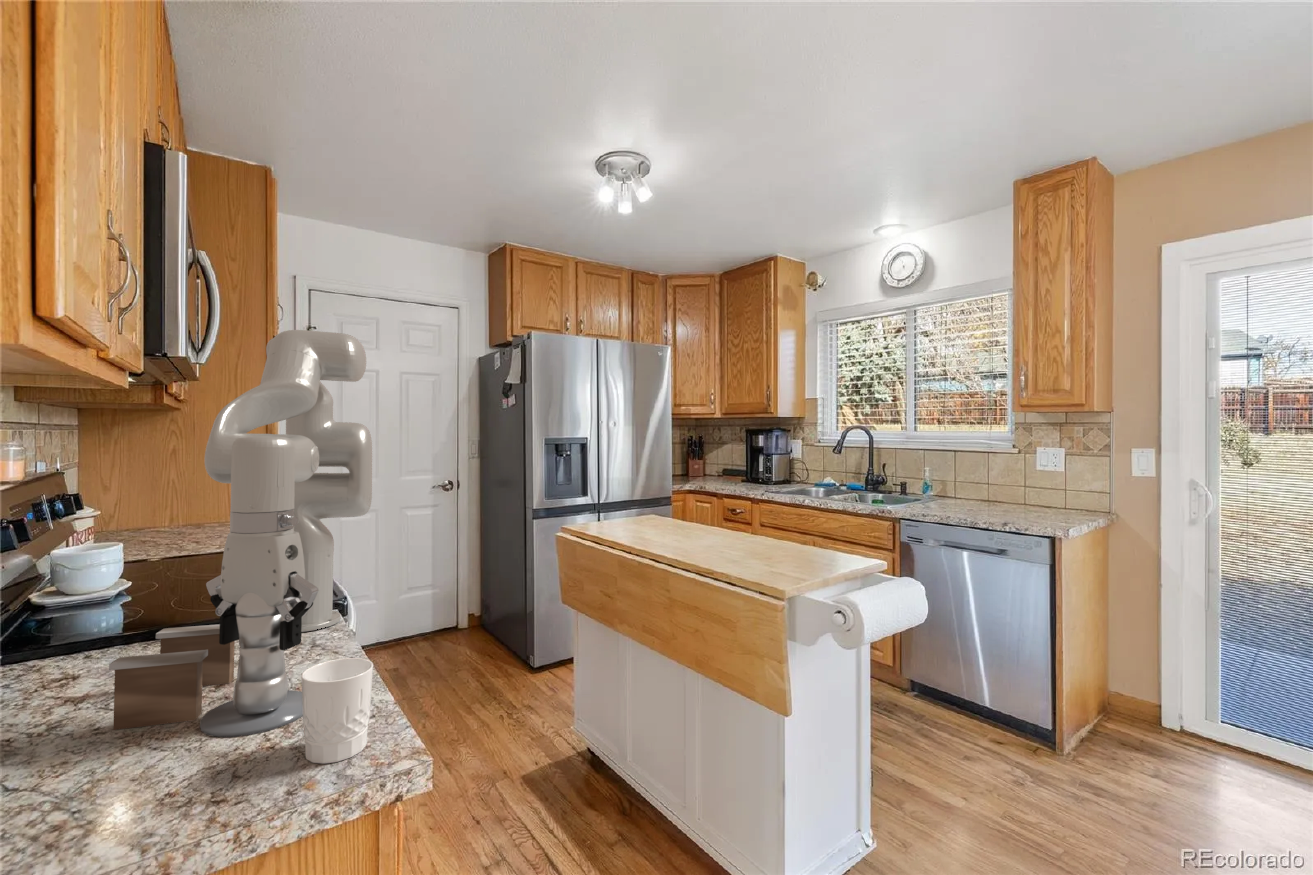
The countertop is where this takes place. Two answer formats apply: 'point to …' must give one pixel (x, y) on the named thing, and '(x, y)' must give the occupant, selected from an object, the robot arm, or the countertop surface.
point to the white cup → (336, 708)
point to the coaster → (250, 718)
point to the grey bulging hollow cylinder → (259, 657)
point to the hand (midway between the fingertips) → (260, 644)
